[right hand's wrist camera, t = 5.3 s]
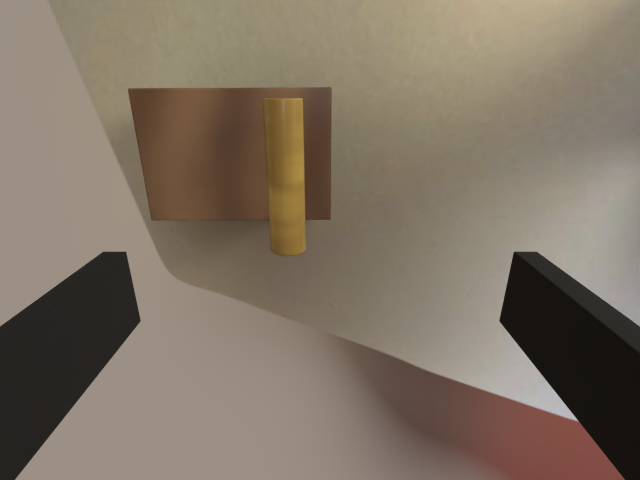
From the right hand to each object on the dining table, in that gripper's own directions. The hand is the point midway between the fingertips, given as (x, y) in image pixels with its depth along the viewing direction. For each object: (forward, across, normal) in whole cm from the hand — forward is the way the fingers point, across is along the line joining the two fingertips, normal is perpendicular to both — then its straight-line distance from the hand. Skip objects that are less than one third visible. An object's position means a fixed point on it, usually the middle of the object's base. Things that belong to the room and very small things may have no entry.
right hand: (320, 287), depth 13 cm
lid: (+16, -6, +2) cm, 17 cm away
